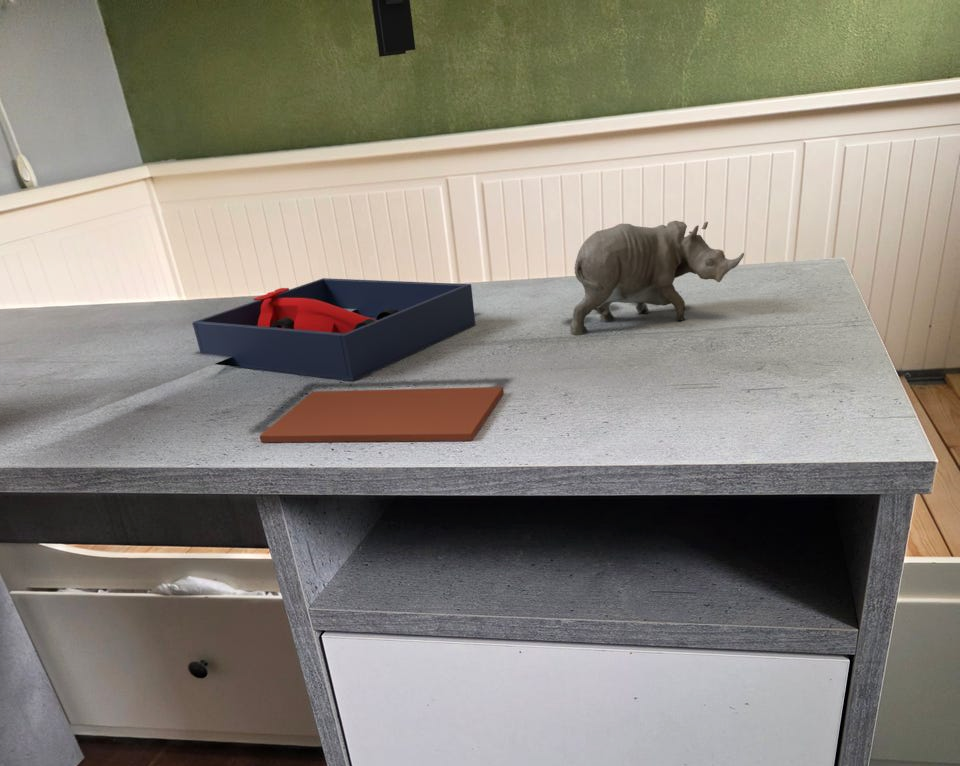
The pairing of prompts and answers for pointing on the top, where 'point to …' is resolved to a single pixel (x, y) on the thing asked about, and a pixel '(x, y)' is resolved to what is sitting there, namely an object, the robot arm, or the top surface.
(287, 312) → the toy car
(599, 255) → the rhinoceros figurine
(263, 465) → the top surface
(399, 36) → the robot arm
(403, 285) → the blue tray
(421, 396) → the mat
